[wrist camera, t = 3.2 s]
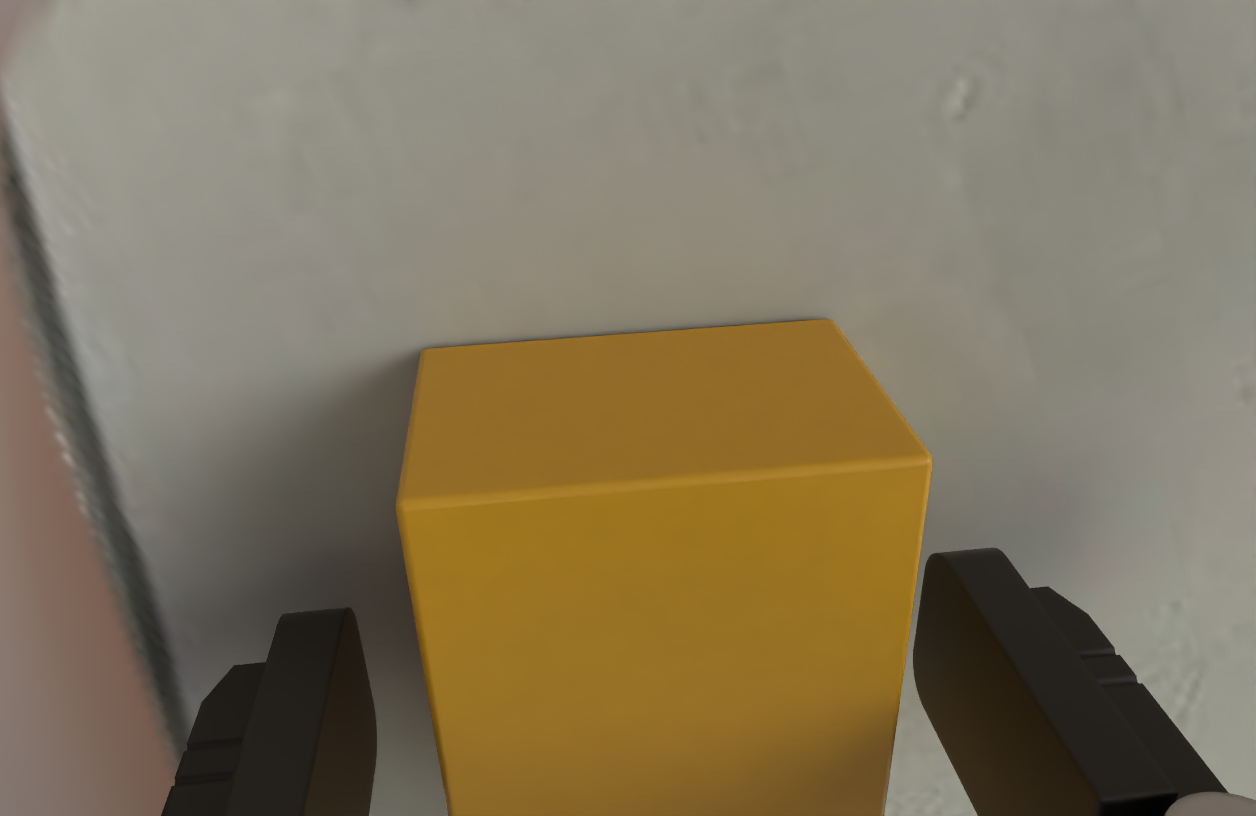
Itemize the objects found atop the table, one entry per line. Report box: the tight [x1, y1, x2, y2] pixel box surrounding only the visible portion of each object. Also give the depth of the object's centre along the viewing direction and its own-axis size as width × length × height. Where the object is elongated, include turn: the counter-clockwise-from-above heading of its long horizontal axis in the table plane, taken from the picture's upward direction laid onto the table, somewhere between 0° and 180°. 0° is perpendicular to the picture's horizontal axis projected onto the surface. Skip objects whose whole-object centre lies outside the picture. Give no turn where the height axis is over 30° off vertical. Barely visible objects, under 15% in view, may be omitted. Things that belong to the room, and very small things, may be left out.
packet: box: [395, 319, 933, 816], centre depth 11 cm, size 7×4×3 cm, turn 2°
